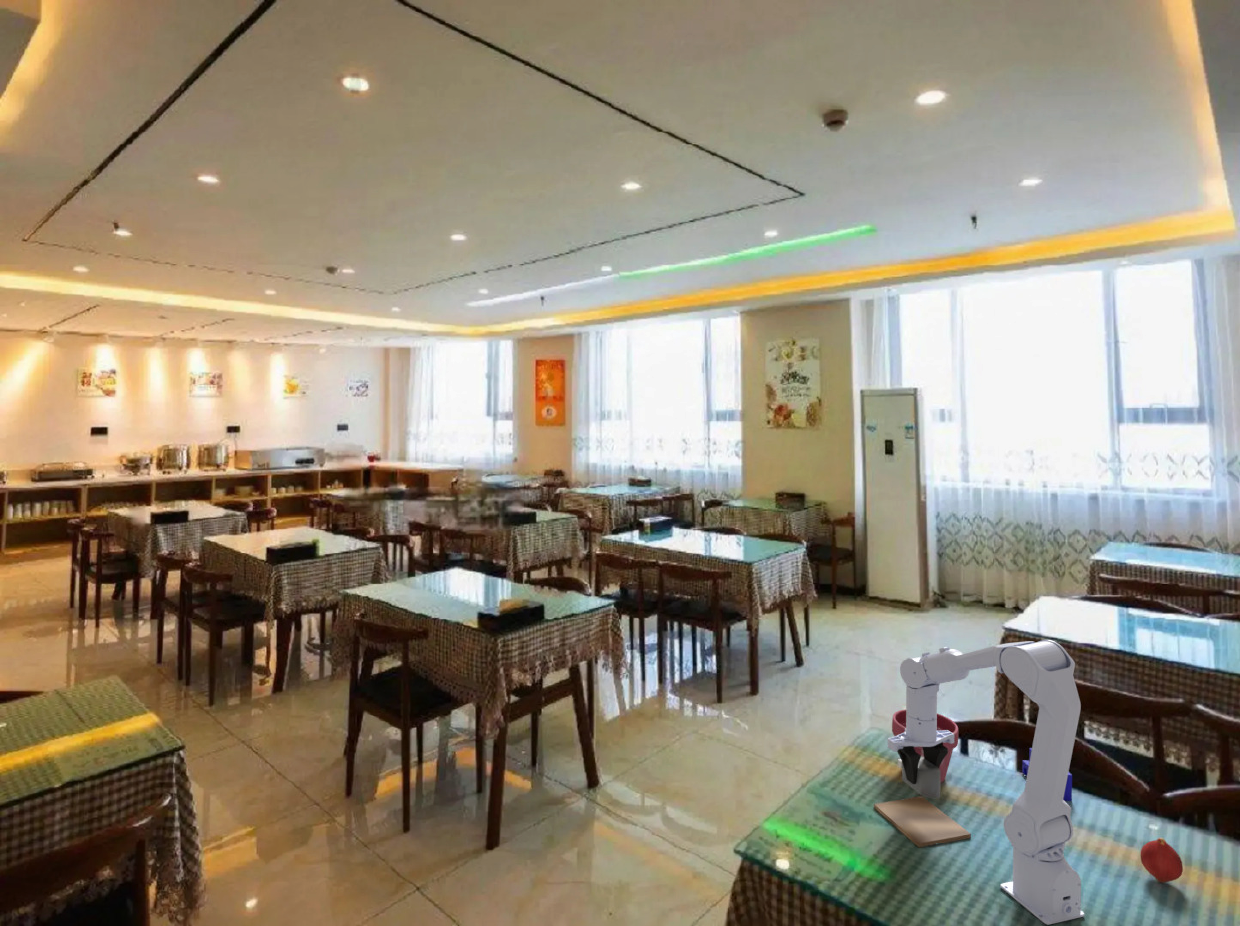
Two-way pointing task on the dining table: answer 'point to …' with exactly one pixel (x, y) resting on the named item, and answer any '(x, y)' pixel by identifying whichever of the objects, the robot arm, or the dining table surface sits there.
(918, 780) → the grey rounded bottle
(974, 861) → the dining table surface
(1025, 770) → the cable clip
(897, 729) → the plant pot
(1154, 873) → the onion
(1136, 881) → the dining table surface
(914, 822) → the walnut pad
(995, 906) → the dining table surface
